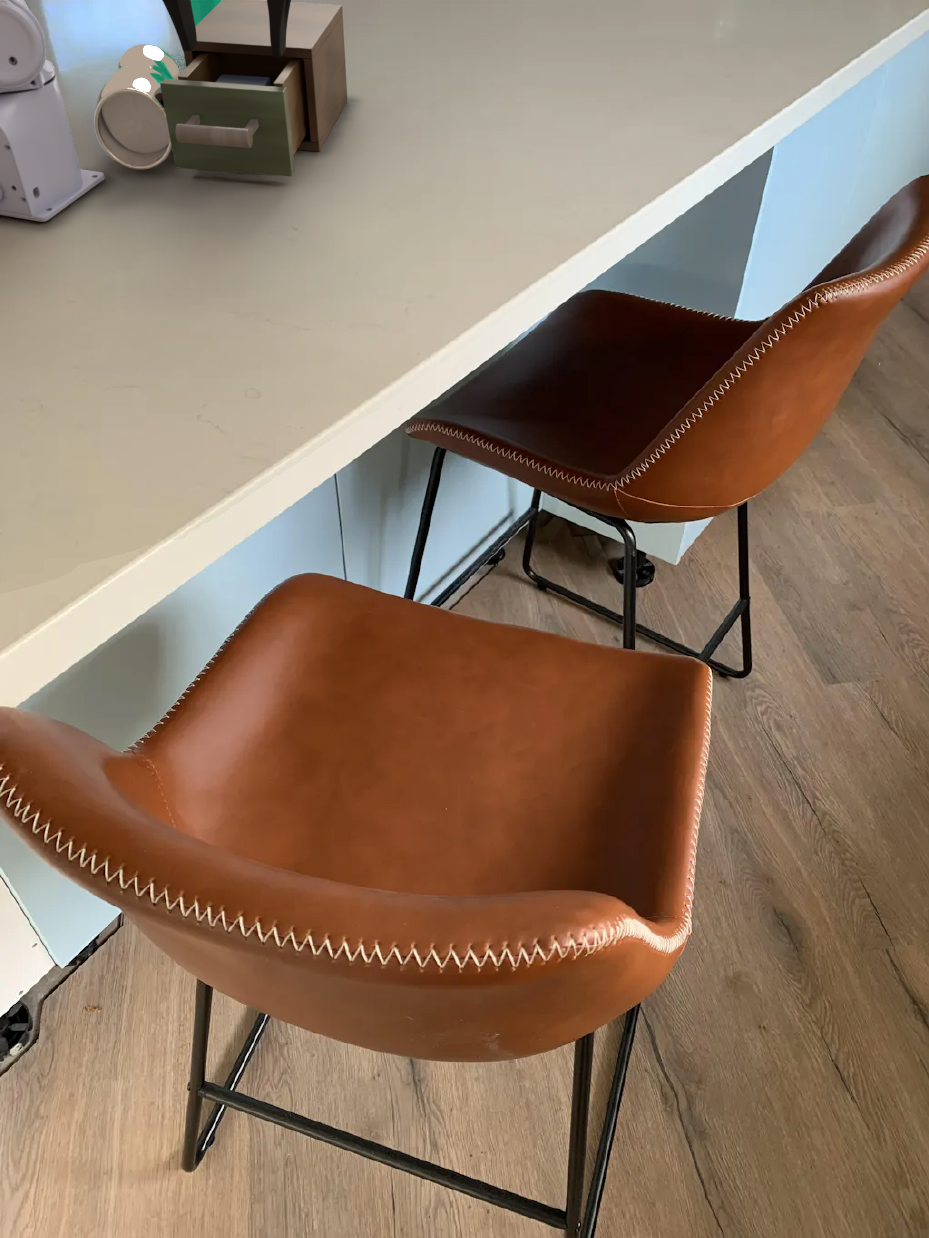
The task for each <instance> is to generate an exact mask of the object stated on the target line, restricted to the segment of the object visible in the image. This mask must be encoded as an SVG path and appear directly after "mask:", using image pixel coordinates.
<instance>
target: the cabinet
mask: <svg viewBox="0 0 929 1238" xmlns="http://www.w3.org/2000/svg"><path fill="white" fill-rule="evenodd" d="M343 15H344V13H343V5H342V4H335V3H334V4H333V3H319V2H303V1H291V3H290V9H289V14H288V22H287V31H286V50H285V52H284V53H283V55H282V56H281V57H293V58H304V69H305V81H306V93H307V105H308V116H309V128H310V129H309V130H308V132H307V134H306V135H305V137H304V139H303V140H302V142H301V144H300V145H299V147H298V149H297V150H296V151H312V152H320V151H321V149H322V148H323V146H324V144H325V142H326V141H327V138H328V137H329V135H330V133H331V131H332V129H333V128H334V126H335V124H336V122H337V120H338V118H339V117H340V115H341V113H342V111H343V109H344V108H345V106H346V104H347V102H348V86H347V85H348V84H347V68H346V67H347V66H346V50H345V49H346V48H345V34H344V33H345V32H344V31H345V30H344V16H343ZM195 27H196V36H197V45H196V46H195V47H194V48H193V49H192V50H191V51H183V50H182V52H183V57H184V61H185V69H186V68H187V66H188V65H189V64H190V63H191V62H192V61H193V60H194V59H195V58H196V57H197V56H198V55H199V54H200V53H201V52H202V51H205V52H220V53H235V54H249V55H264V56H273V55H272V49H271V41H270V24H269V11H268V5H267V0H222V1H221V2H220V3H219V4H218V5H217V6H216V7H215V8H214V9H213V10H212V11H211V12H210V13H209V14H208V15H207V16H206V17H205V18H204V19H203V20H202V21H201V22H200V23H198V24H197V25H196V26H195Z"/></svg>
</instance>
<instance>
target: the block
mask: <svg viewBox="0 0 929 1238" xmlns="http://www.w3.org/2000/svg"><path fill="white" fill-rule="evenodd" d="M216 83H231V84H245V85H259V86H271V83H270V78H269V77H256V76H239V75H220V77H219V78H218V79H217V81H216Z"/></svg>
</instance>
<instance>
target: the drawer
mask: <svg viewBox="0 0 929 1238" xmlns="http://www.w3.org/2000/svg"><path fill="white" fill-rule="evenodd" d="M220 75H239V76H256V77H269V78H270V83H271V86H259V85H245V84H231V83H216V81H217V79H218V78H219V77H220ZM160 87H161V92H162V98H163V103H164V108H165V114H166V119H167V124H168V130H169V135H170V140H171V146H172V150H171V152H172V156H173V162H174V166H175V168H176V169H188V170H200V171H215V172H227V173H239V174H241V173H242V174H252V175H253V174H255V175H266V176H279V177H281V176H282V177H293V176H294V174H295V171H296V169H295V159H294V155H295V154H296V152H297V151H298V150H297V149H298V147H299V145H300V144H301V142H302V140H303V139H304V137H305V135H306V134H307V132H308V130H309V129H310V128H309V116H308V105H307V93H306V81H305V69H304V58H293V57H275V56H264V55H249V54H235V53H220V52H205V51H202V52H201V53H200V54H199V55H198V56H197V57H196V58H195V59H194V60H193V61H192V62H191V63H190V64H189V65H188V66H187V68H186V67H185V69H183V71H181V74H180V75H179V76H178V80H174V79H164V80H163V81H162V82H161V83H160Z"/></svg>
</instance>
